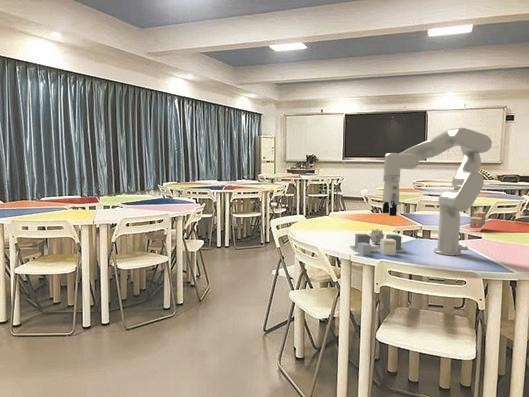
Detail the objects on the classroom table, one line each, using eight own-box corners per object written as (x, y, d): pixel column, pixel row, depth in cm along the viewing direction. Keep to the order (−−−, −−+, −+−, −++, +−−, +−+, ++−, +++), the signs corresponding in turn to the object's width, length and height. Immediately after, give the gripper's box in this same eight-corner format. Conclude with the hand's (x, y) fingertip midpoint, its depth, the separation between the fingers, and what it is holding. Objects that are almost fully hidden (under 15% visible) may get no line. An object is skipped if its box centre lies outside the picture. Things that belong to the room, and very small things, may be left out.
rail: (399, 248, 222) (400, 233, 222) (406, 252, 213) (406, 236, 213) (349, 247, 221) (350, 232, 220) (354, 251, 212) (355, 235, 211)
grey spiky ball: (374, 249, 237) (375, 233, 242) (388, 246, 231) (388, 230, 236) (364, 242, 232) (366, 226, 237) (378, 239, 226) (379, 223, 231)
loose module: (391, 252, 211) (392, 238, 210) (395, 255, 206) (396, 240, 205) (379, 252, 211) (380, 238, 210) (383, 255, 206) (384, 240, 205)
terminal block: (364, 252, 210) (365, 242, 210) (370, 255, 204) (371, 245, 204) (357, 252, 209) (357, 242, 209) (362, 255, 203) (363, 245, 203)
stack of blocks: (479, 232, 287) (480, 214, 286) (469, 231, 291) (470, 213, 290) (484, 229, 305) (486, 211, 304) (475, 228, 308) (476, 211, 307)
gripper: (406, 180, 197) (403, 217, 198) (392, 178, 214) (390, 212, 215) (390, 179, 196) (387, 216, 198) (378, 178, 214) (375, 212, 215)
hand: (389, 214), depth 207 cm, fingers open, 9 cm apart
